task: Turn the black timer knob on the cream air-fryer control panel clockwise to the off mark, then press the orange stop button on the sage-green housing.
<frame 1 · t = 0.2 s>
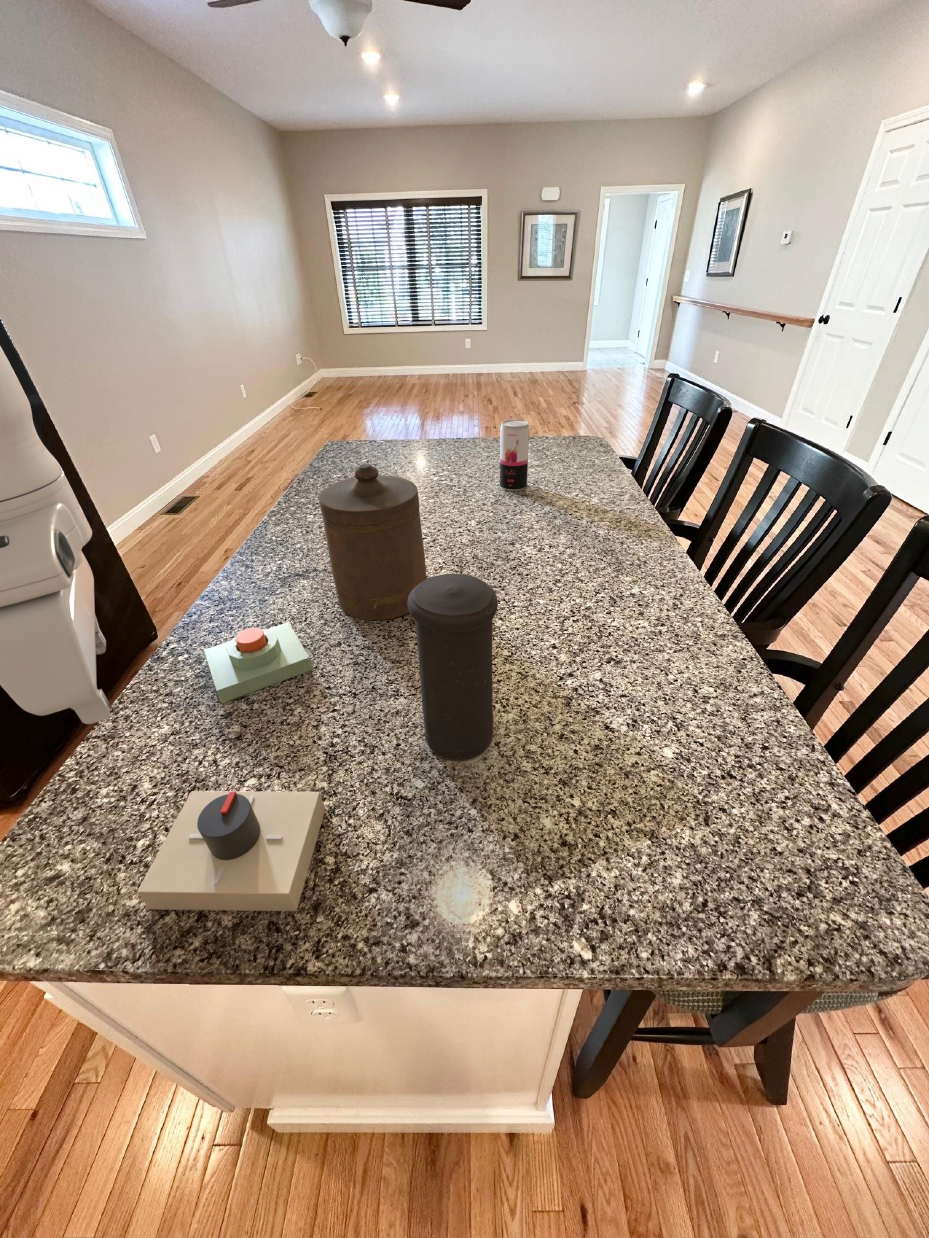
hand: (97, 681, 43), 18 cm above the countertop, tool pointing down, fingers open, 8 cm apart
wooden container: (383, 596, 86), on the countertop
timer knob: (229, 825, 46), point 5 cm above the countertop, hinge at 90.0°
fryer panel: (244, 855, 49), on the countertop
beverage can: (513, 487, 125), on the countertop
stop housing: (259, 665, 72), on the countertop
container: (459, 734, 60), on the countertop
stop button: (251, 640, 69), point 4 cm above the countertop, slide at 0.1 cm
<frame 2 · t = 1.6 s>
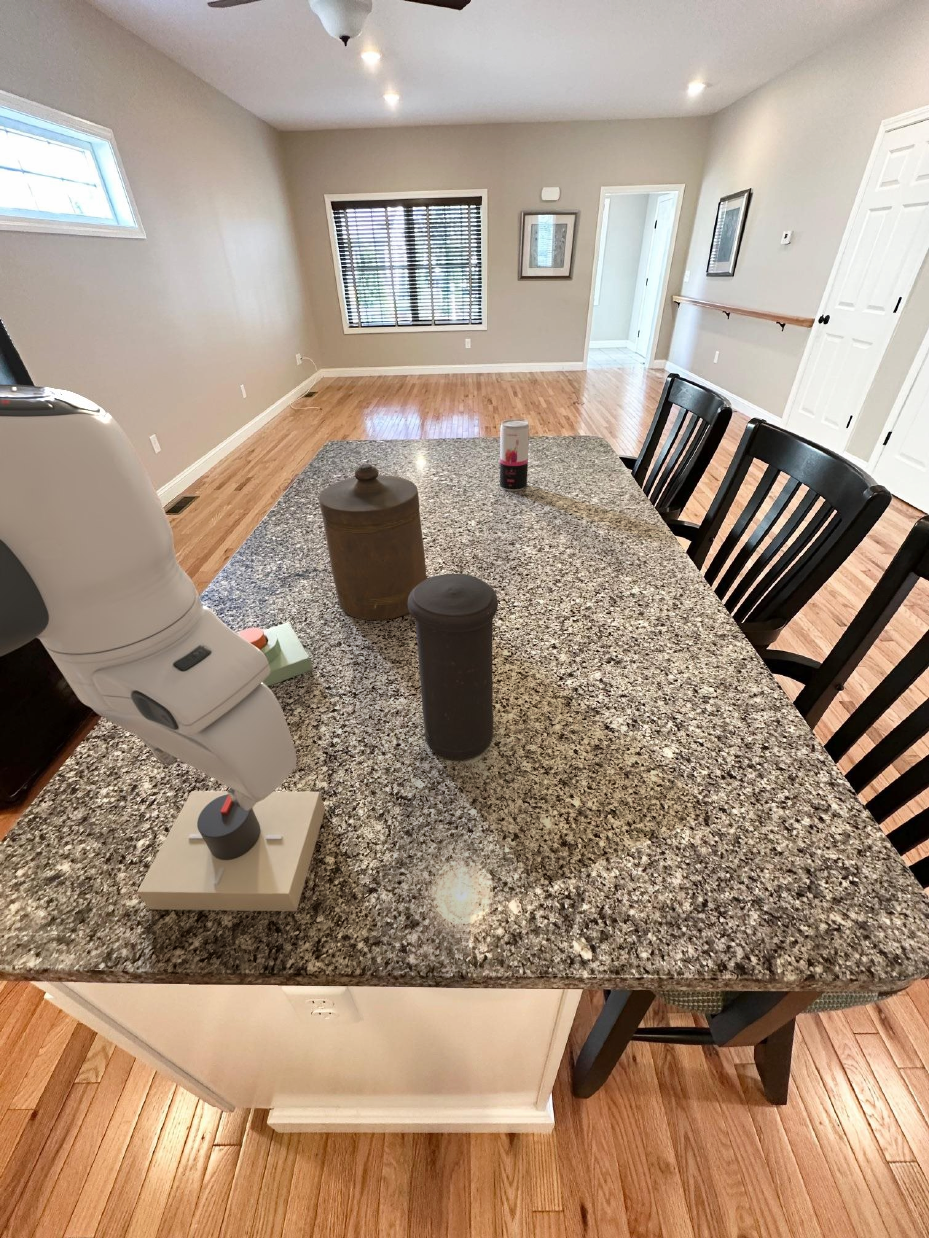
hand: (208, 777, 42), 11 cm above the countertop, tool pointing down, fingers open, 8 cm apart
nothing on the countertop moved.
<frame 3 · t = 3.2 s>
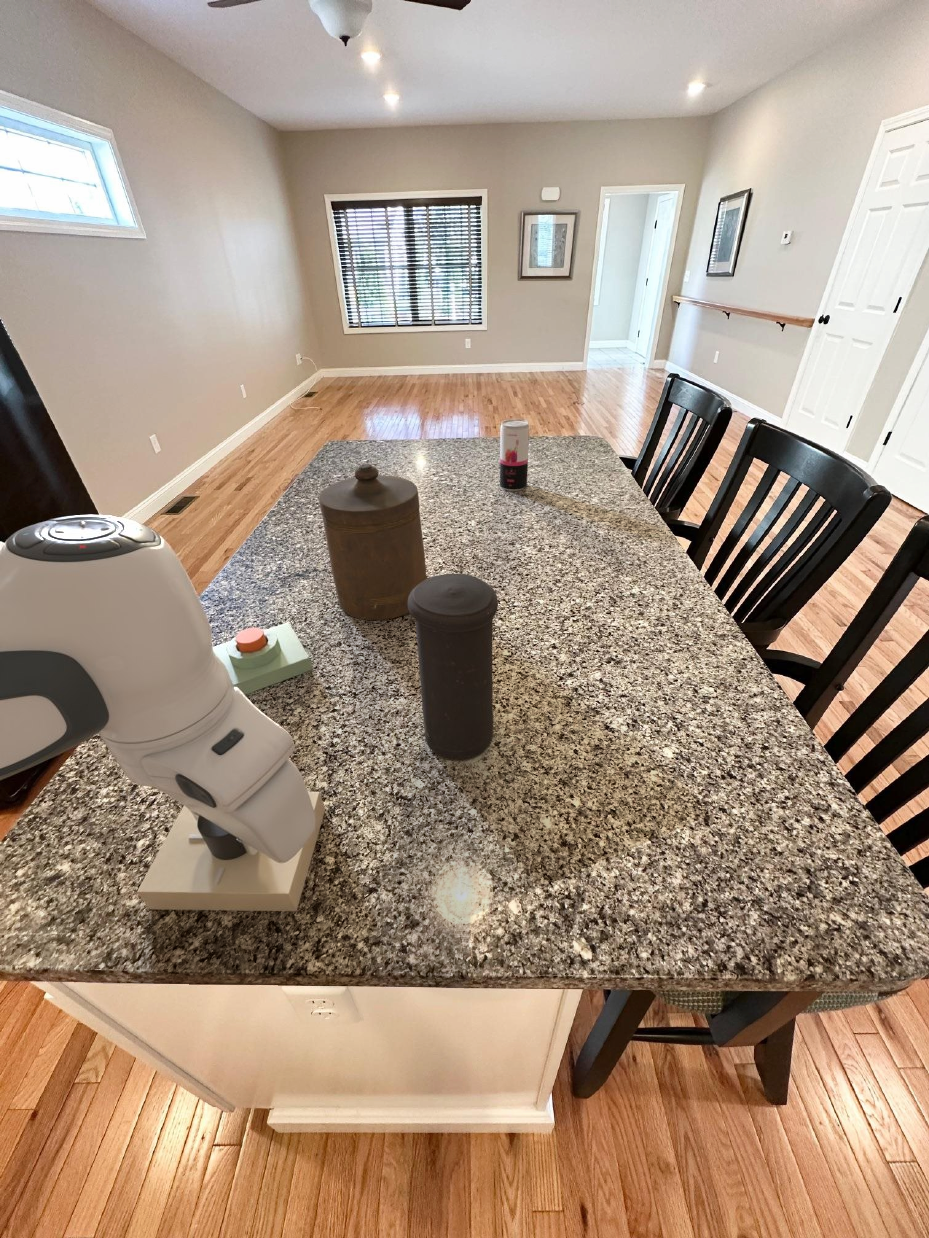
hand: (232, 831, 46), 4 cm above the countertop, tool pointing down, fingers closed on timer knob, 4 cm apart
timer knob: (229, 825, 46), point 5 cm above the countertop, hinge at 90.1°, touching gripper
everything else where it was.
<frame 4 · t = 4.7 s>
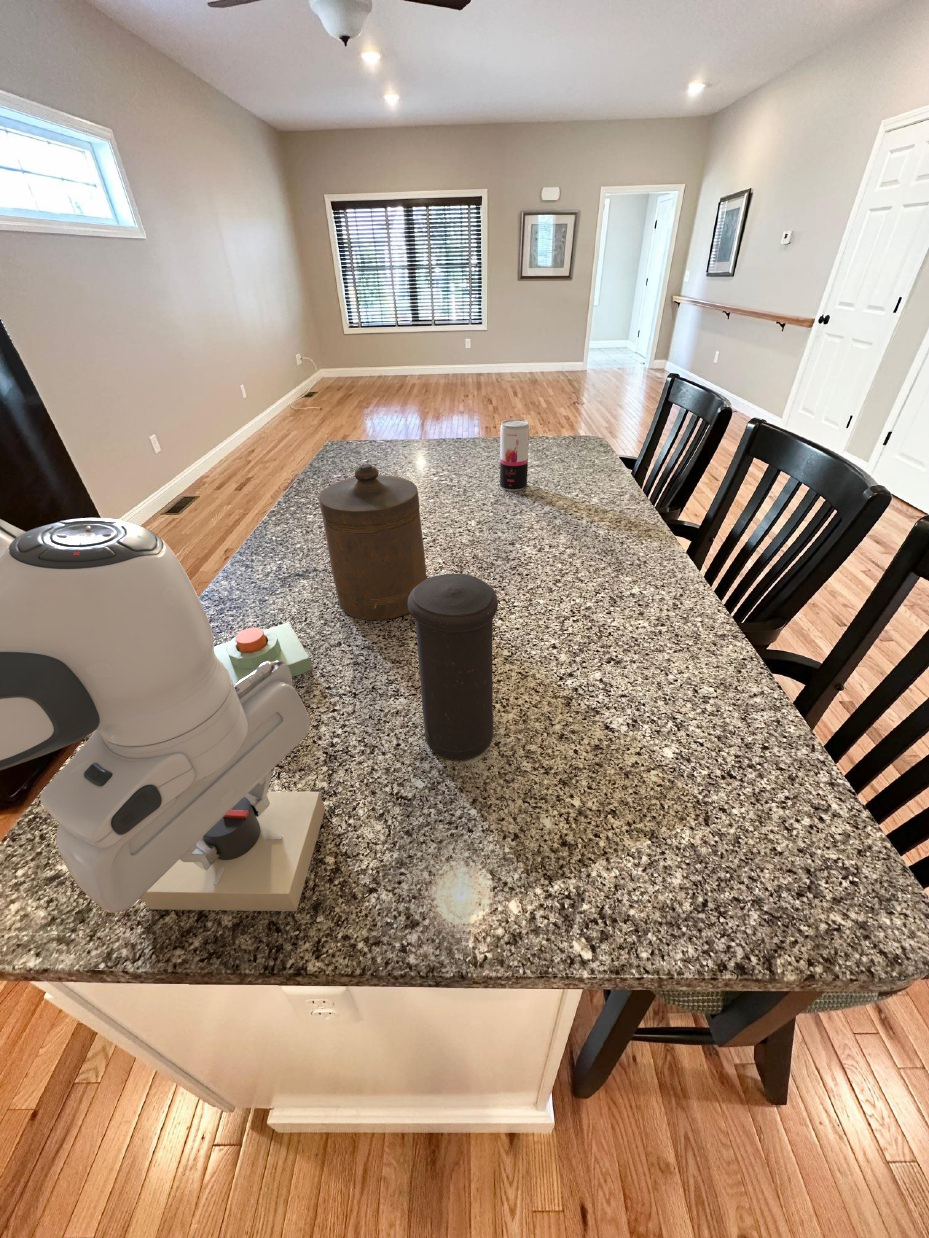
hand: (234, 833, 46), 4 cm above the countertop, tool pointing down, fingers closed on timer knob, 4 cm apart
timer knob: (229, 825, 46), point 5 cm above the countertop, hinge at -2.0°, touching gripper
everything else where it was.
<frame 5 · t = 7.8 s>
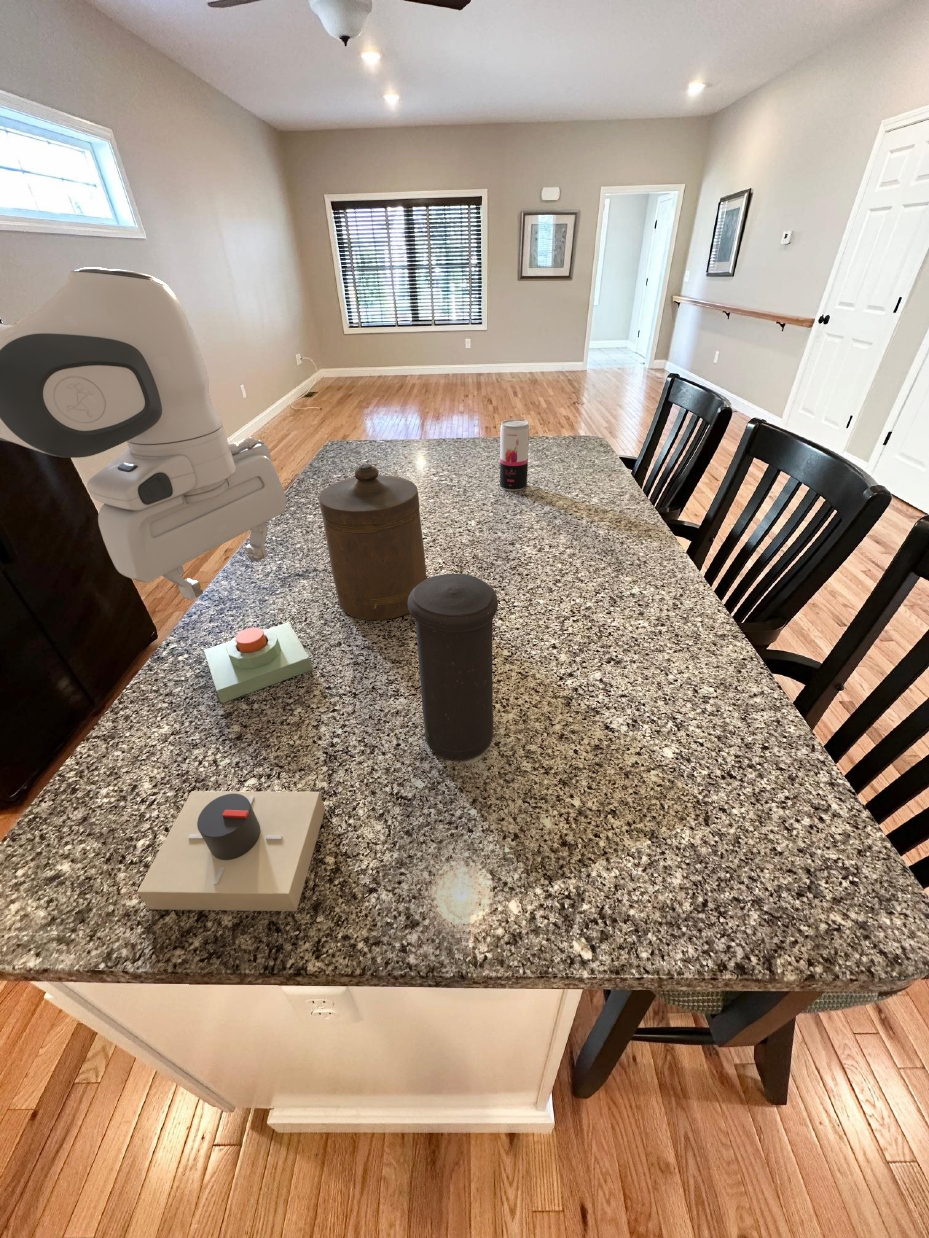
hand: (227, 576, 60), 16 cm above the countertop, tool pointing down, fingers open, 8 cm apart
timer knob: (229, 825, 46), point 5 cm above the countertop, hinge at -2.3°
everything else where it was.
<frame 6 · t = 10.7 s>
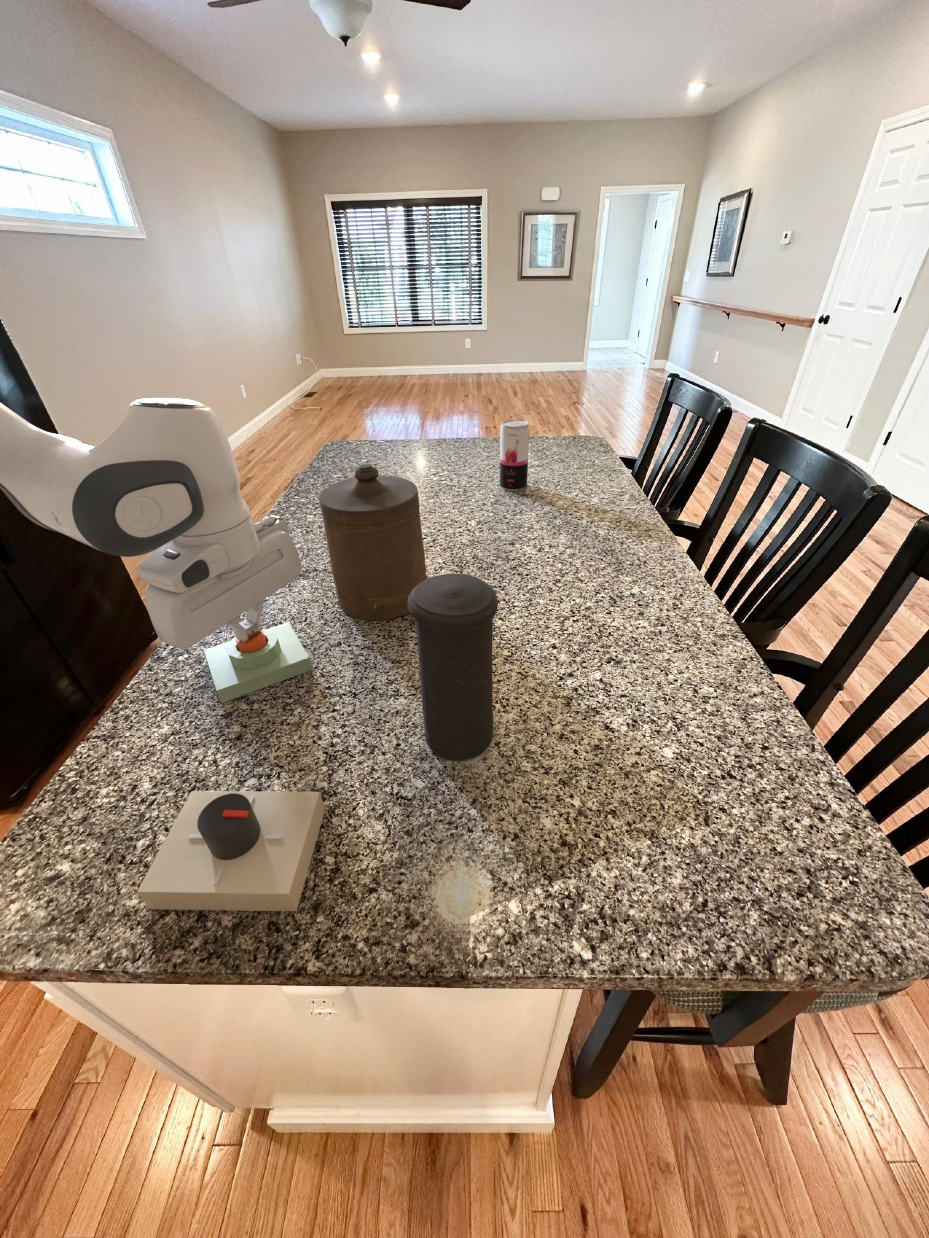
hand: (250, 635, 69), 5 cm above the countertop, tool pointing down, fingers closed, pressing on stop button
stop button: (251, 641, 69), point 4 cm above the countertop, slide at 0.0 cm, touching gripper
everything else where it was.
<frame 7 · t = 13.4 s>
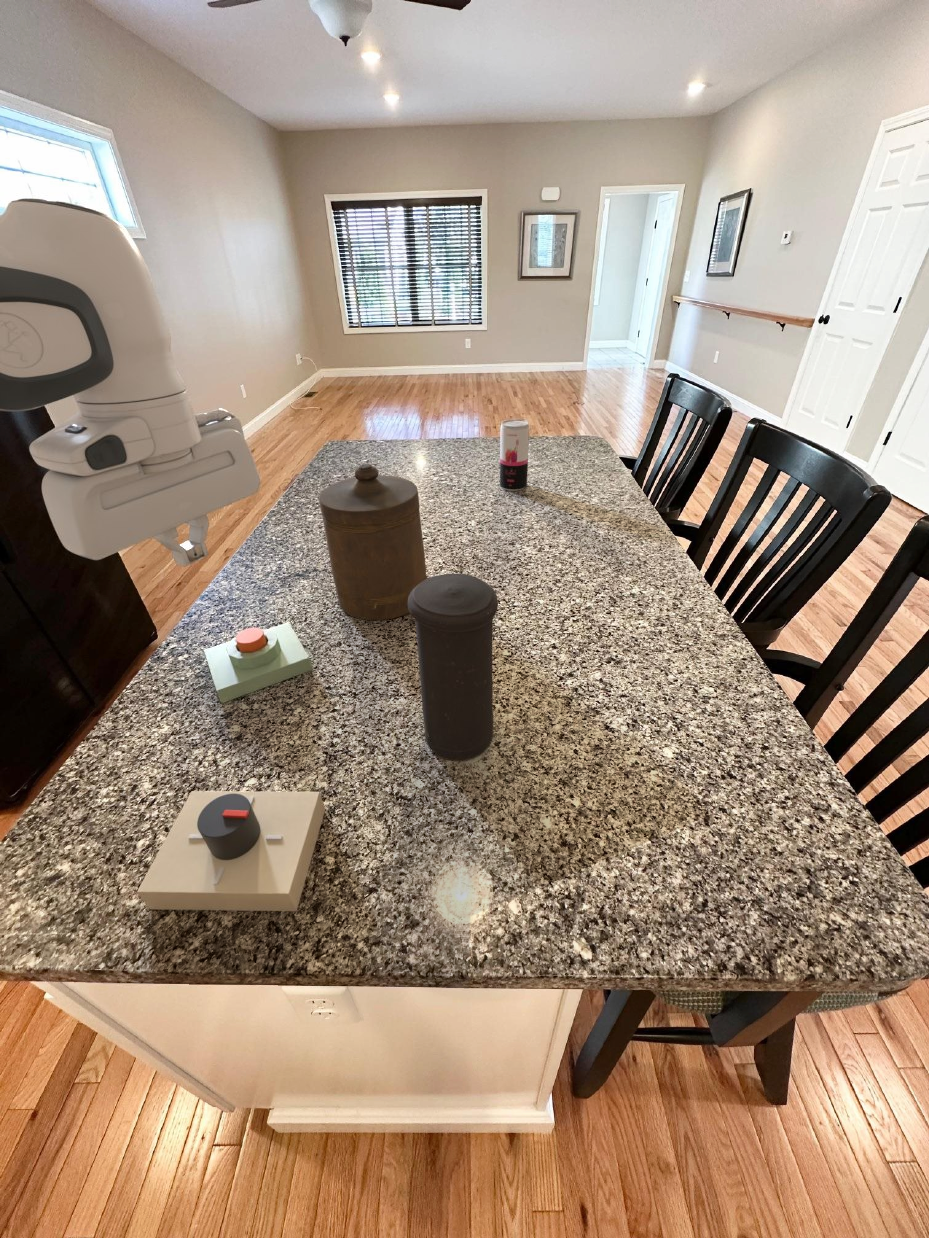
hand: (192, 560, 55), 20 cm above the countertop, tool pointing down, fingers closed
stop button: (251, 640, 69), point 4 cm above the countertop, slide at 0.1 cm
everything else where it was.
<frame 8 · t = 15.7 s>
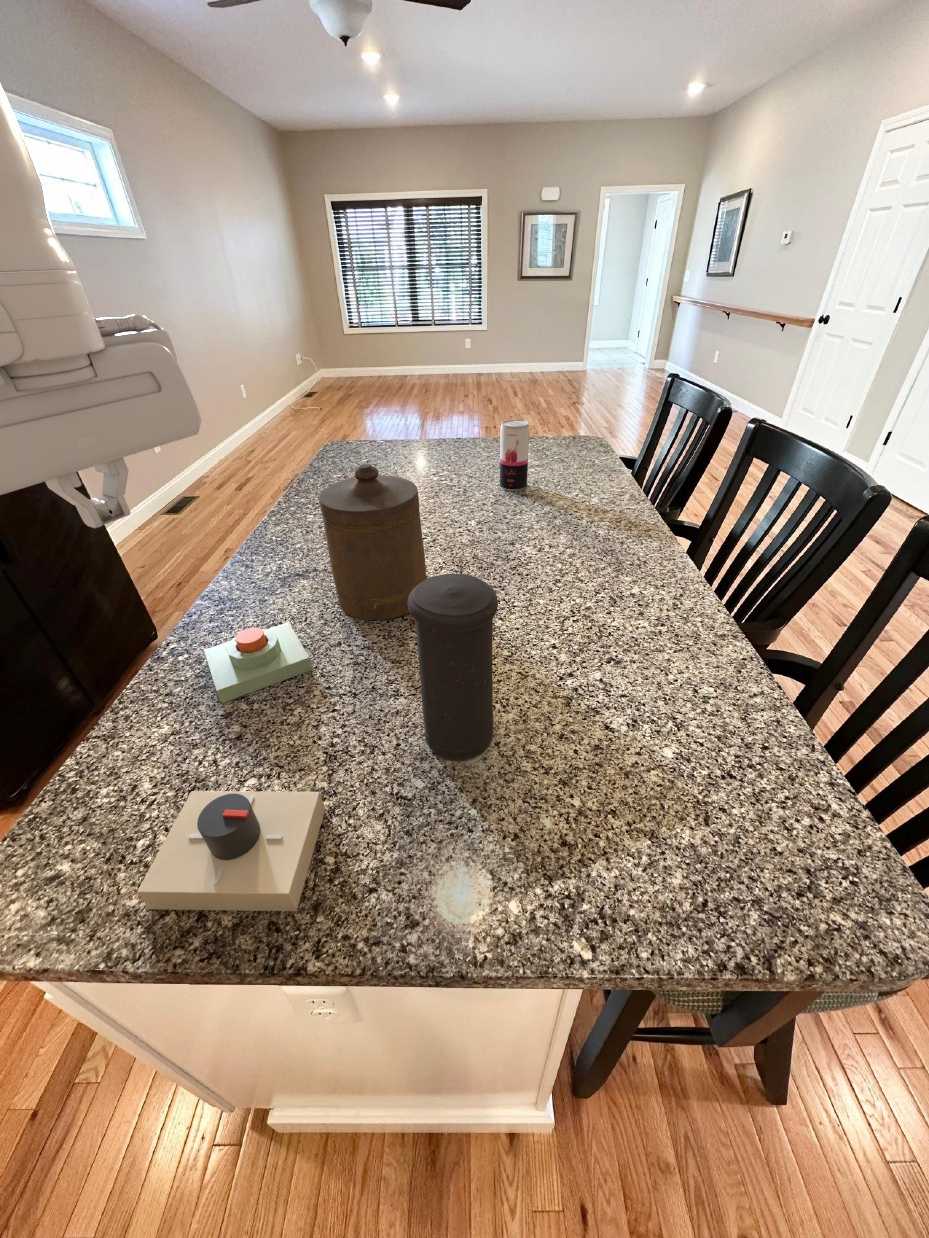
hand: (109, 520, 42), 29 cm above the countertop, tool pointing down, fingers closed
nothing on the countertop moved.
at the end: timer knob at -2° (first picture: +90°); stop button pushed in 1.0 cm at the most during the clip, back to where it started at the end; stop button slide at 0.1 cm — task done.
